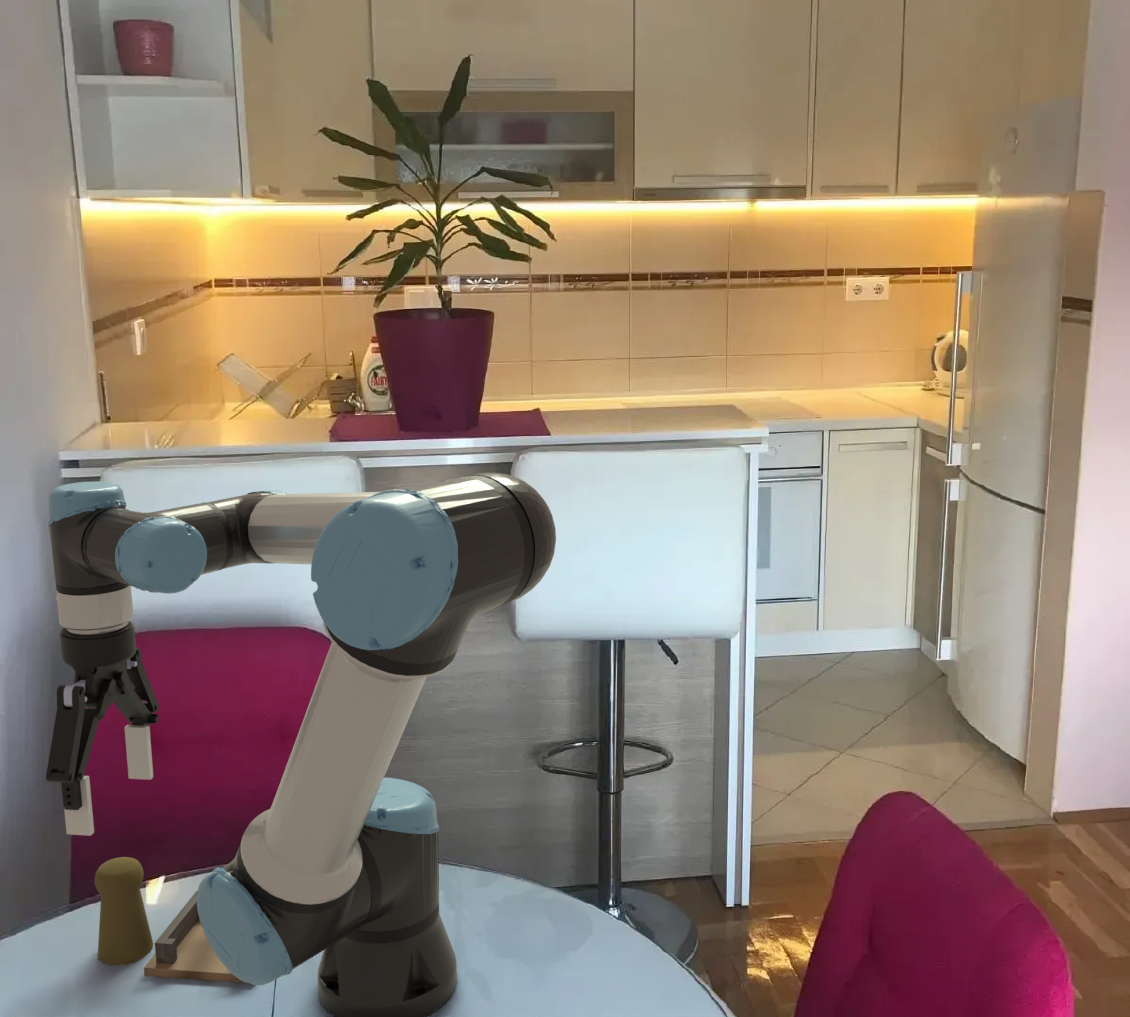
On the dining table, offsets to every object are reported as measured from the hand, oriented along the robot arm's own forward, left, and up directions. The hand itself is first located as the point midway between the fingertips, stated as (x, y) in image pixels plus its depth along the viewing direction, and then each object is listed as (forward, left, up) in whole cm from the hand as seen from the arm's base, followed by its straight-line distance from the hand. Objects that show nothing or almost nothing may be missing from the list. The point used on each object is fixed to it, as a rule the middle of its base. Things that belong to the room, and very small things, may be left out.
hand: (112, 804), depth 127 cm
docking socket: (-11, -2, -18) cm, 21 cm away
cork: (0, 0, -18) cm, 18 cm away
